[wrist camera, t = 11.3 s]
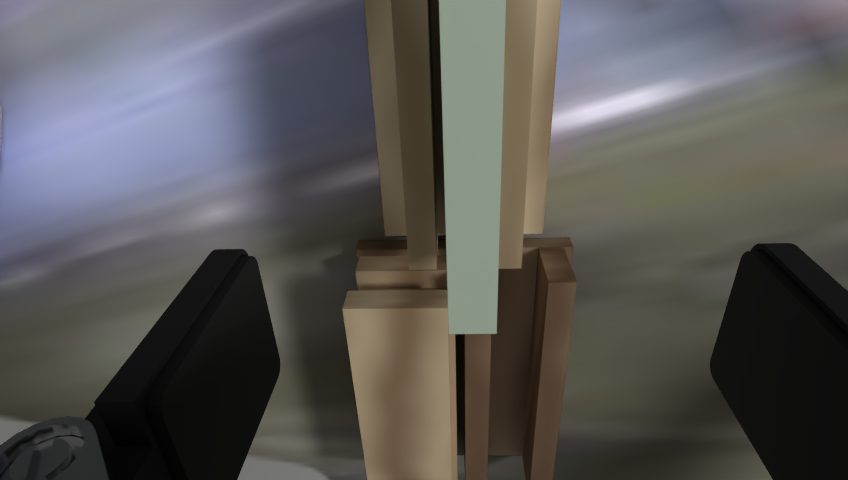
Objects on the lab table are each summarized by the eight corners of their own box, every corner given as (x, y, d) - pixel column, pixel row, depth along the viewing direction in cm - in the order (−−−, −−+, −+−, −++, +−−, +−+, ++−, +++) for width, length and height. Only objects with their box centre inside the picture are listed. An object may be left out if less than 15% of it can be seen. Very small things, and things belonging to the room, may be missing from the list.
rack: (569, 237, 35) (593, 296, 29) (547, 443, 44) (561, 518, 39) (358, 240, 35) (340, 298, 30) (382, 442, 45) (372, 515, 40)
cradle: (568, -158, 24) (596, -180, 20) (539, 224, 34) (553, 267, 30) (354, -145, 25) (333, -164, 20) (386, 227, 35) (377, 270, 30)
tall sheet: (484, -102, 25) (509, -133, 14) (481, 207, 32) (496, 333, 22) (441, -99, 25) (435, -127, 14) (449, 208, 33) (448, 334, 22)
